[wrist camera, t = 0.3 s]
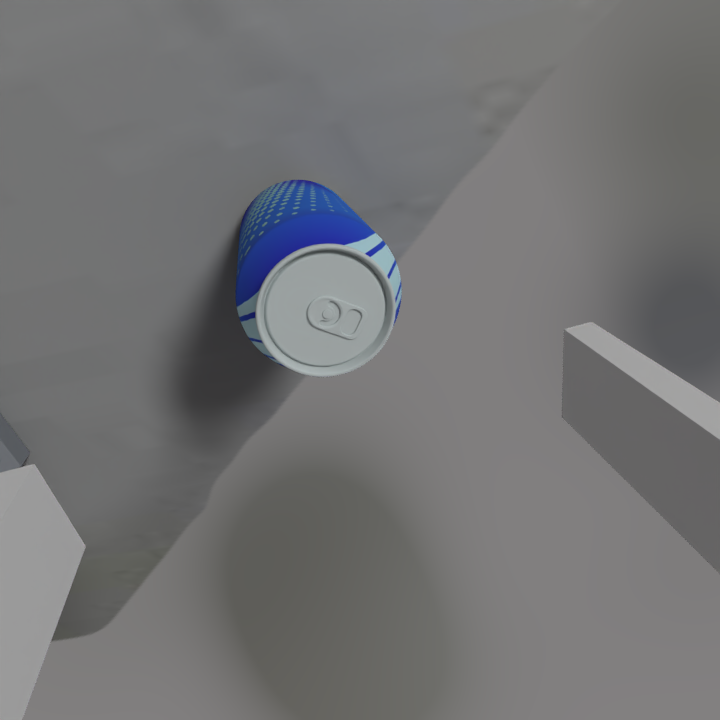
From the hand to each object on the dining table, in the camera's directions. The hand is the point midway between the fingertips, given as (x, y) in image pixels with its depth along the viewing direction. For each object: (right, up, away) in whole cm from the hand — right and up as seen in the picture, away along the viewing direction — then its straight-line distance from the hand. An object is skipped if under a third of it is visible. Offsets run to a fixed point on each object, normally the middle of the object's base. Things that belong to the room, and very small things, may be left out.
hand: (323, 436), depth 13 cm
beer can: (-4, +11, +25) cm, 28 cm away
